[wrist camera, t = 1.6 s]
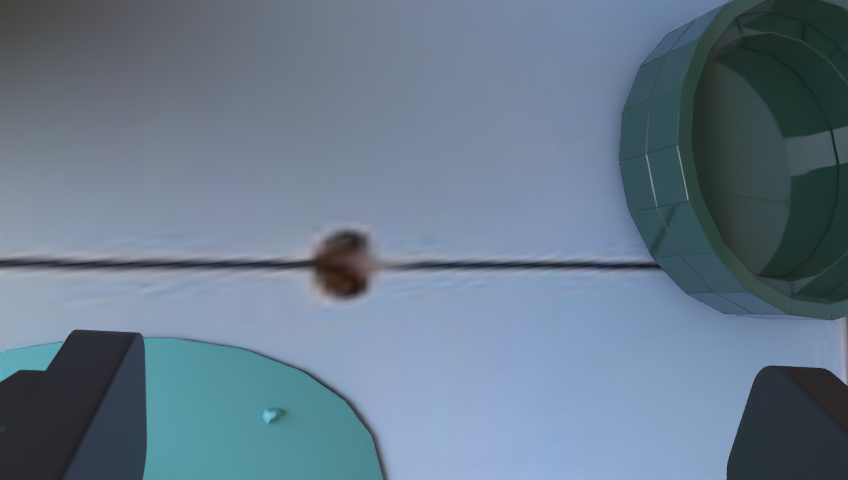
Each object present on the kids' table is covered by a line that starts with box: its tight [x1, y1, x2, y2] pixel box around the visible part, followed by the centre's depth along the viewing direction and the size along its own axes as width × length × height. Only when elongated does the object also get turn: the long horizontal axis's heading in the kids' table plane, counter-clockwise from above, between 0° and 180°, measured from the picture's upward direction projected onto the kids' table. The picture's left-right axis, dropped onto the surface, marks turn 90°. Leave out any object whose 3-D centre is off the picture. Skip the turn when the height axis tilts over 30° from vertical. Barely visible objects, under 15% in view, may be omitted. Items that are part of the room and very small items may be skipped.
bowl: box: [619, 0, 848, 320], centre depth 34 cm, size 14×14×4 cm
